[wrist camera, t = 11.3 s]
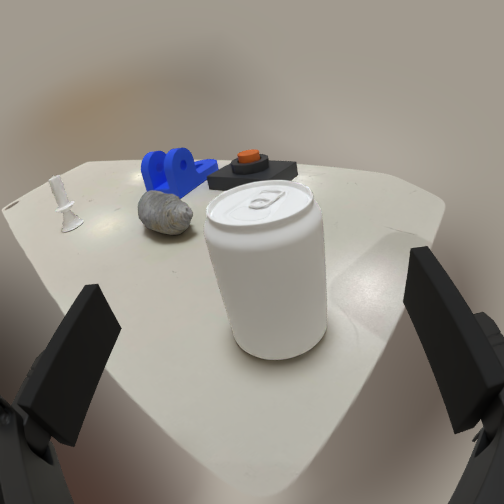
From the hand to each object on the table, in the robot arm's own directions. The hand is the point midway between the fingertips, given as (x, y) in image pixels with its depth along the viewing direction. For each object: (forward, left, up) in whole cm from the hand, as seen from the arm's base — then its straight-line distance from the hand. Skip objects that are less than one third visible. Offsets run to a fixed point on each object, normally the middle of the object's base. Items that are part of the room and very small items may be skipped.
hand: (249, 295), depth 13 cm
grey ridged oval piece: (+32, -18, -12) cm, 39 cm away
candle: (+58, -12, -12) cm, 61 cm away
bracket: (+45, -36, -12) cm, 59 cm away
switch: (+29, -38, -8) cm, 49 cm away
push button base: (+29, -38, -12) cm, 50 cm away
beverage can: (+5, -8, -12) cm, 16 cm away
